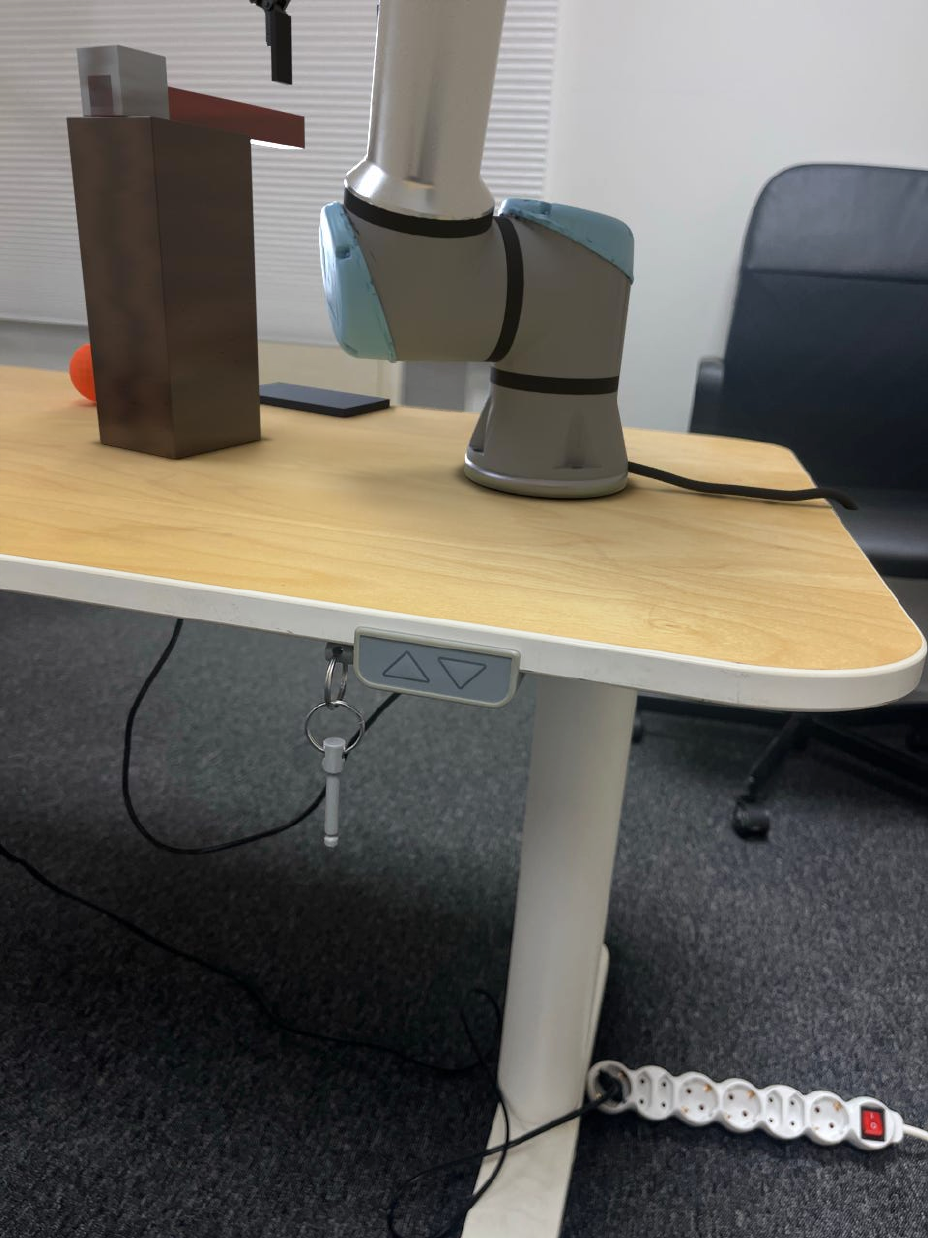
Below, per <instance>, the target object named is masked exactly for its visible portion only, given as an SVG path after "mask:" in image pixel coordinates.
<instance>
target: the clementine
mask: <svg viewBox="0 0 928 1238" xmlns="http://www.w3.org/2000/svg"><path fill="white" fill-rule="evenodd" d="M68 369H69V371H68V373H69V377H70V382H71V383H72V385H73V386H74V388H75V389H76V390H77V392H78V393H79V394H80V395H81V396H82V397H84V398H85V399H87V400H89V401H91V402H94V403H96V396H95V387H94V377H93V368H92V358H91V349H90V342H89V343H85V344H83V345H82V346H81V347H79V348H78V349H77V350H75V352H74V354H73V355H72V356H71V359H70V362H69V367H68Z"/></svg>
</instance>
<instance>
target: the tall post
mask: <svg viewBox="0 0 928 1238" xmlns="http://www.w3.org/2000/svg"><path fill="white" fill-rule="evenodd" d="M65 121H66V128H67V130H66V131H67V139H68V149H69V156H70V168H71V174H72V175H71V177H72V185H73V194H74V196H73V197H74V206H75V214H76V223H77V232H78V243H79V253H80V261H81V262H80V263H81V272H82V280H83V281H82V282H83V291H84V299H85V311H86V321H87V329H88V338H89V343H90V349H91V358H92V368H93V377H94V387H95V396H96V402H95V405H96V415H97V423H98V425H97V426H98V435H99V443H100V444H104V445H106V446H107V445H108V446H113V447H118V448H122V449H126V450H130V451H136V452H141V453H145V454H149V455H150V454H151V455H154V456H159V457H164V458H169V459H174V460H179V459H183V458H186V457H190V456H191V457H192V456H194V455H200V454H204V453H208V452H212V451H216V450H221V449H224V448H229V447H234V446H238V445H242V444H243V445H244V444H246V443H247V444H248V443H251V442H255V441H259V440H262V427H261V425H262V423H261V421H262V420H261V403H260V391H259V385H260V372H259V371H260V366H259V339H258V338H259V337H258V335H259V334H258V332H259V331H258V307H257V304H258V303H257V277H256V276H257V274H256V249H255V247H256V246H255V220H254V219H255V217H254V216H255V215H254V214H255V213H254V189H253V188H254V185H253V156H252V155H253V153H252V143H251V135H250V134H244V133H239V132H234V131H228V130H223V129H218V128H212V127H207V126H202V125H196V124H191V123H185V122H180V121H175V120H169V119H164V118H159V117H153V116H90V117H84V116H66V119H65Z"/></svg>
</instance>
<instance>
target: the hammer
mask: <svg viewBox="0 0 928 1238" xmlns="http://www.w3.org/2000/svg"><path fill="white" fill-rule="evenodd" d="M75 49H76V57H77V68H78V77H79V88H80V89H79V90H80V97H81V100H80V101H81V108H82V109H81V110H82V117H90V116H153V117H159V118H164V119H169V120H175V121H180V122H185V123H191V124H196V125H202V126H207V127H212V128H218V129H223V130H228V131H234V132H239V133H244V134H250V135H251V144H254V145H257V146H258V145H259V146H264V147H269V148H270V147H272V148H277V149H283V150H305V149H306V124H305V123H306V122H305V121H306V118H305V116H304V115H301V114H298V113H297V114H296V113H292V112H288V111H283V110H279V109H274V108H270V107H265V106H260V105H256V104H252V103H247V102H243V101H242V102H241V101H237V100H233V99H229V98H223V97H219V96H214V95H210V94H205V93H201V92H196V91H192V90H187V89H182V88H178V87H174V86H170V85H168V69H167V57H166V56H165V55H161V54H156V53H152V52H148V51H145V50H141V49H137V48H133V47H129V46H125V45H121V44H105V45H103V44H102V45H91V46H90V45H89V46H77V47H76V48H75Z"/></svg>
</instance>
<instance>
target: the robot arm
mask: <svg viewBox="0 0 928 1238" xmlns="http://www.w3.org/2000/svg"><path fill="white" fill-rule="evenodd" d="M248 1H249V3H250V4H252V5H254V6H256V7H258V8H261V9H262V10H263V12H264V23H265V43H266V47H268V48H270V66H271V67H270V72H271V73H270V76H271V82H274V83H278V84H281V85H285V86H292V85H293V46H292V45H293V41H292V39H293V38H292V34H293V33H292V16H291V15H289V13H288V12H287V11H286V10H287V9H288V7H289V4H290V3H291V1H292V0H248ZM507 4H508V0H379V2H378V4H376V37H375V38H376V39H375V50H374V51H375V52H374V63H373V76H372V77H373V78H372V89H371V101H370V114H369V125H368V126H369V127H368V129H369V130H368V140H367V154H366V155H365V156H364V158H363V159H362V160H360V161H359V163H357V164H356V165H355V166H353V168H351V170H349V171H348V172H347V173H346V175H345V178H344V190H343V191H344V192H343V201H342V203H340V202H339V201H333V202H332V203H328V204H326V205H324V206H323V207H322V208H321V211H320V222H319V225H318V239H319V256H320V267H321V275H322V283H323V289H324V296H325V302H326V307H327V312H328V316H329V321H330V324H331V328H332V331H333V334H334V337H335V339H336V342H337V343H338V345H339V347H340V348H341V349H342V350H343V352H344V353H346V354H347V355H348V356H351V357H352V358H355V359H361V360H362V359H363V360H375V361H377V360H378V361H388V363H391V364H396V363H397V362H450V363H451V362H452V363H453V362H455V363H456V362H458V363H461V362H464V363H467V362H468V363H473V362H475V363H490V370H489V386H488V392H487V394H486V397H485V400H484V403H483V405H482V408H481V410H480V412H479V416H478V419H477V421H476V424H475V426H474V429H473V431H472V434H471V437H470V440H469V443H468V445H467V448H466V452H465V455H464V467H463V468H464V469H463V471H464V475H465V476H466V477H467V478H468V479H470V480H471V481H473V482H475V483H476V484H479V485H481V486H483V487H486V488H490V489H493V490H497V491H500V492H506V493H511V494H515V495H522V496H530V497H539V498H553V499H585V498H597V497H603V496H608V495H612V494H615V493H619V492H621V491H623V490H624V489H625V488H626V487H627V483H628V478H629V477H628V476H629V473H631V474H634V475H637V476H642V477H646V478H649V479H652V480H657V481H659V482H663V483H666V484H668V485H672V486H674V487H678V488H680V489H685V490H688V491H693V492H697V493H705V494H712V495H722V496H723V495H724V496H735V497H743V498H750V499H751V498H753V499H759V500H760V499H761V500H770V501H777V502H778V501H780V502H804V501H811V500H819V499H829V500H833V501H835V502H837V503H838V504H839V505H841V506H842V507H843V508H844V509H845V510H849V511H859V510H860V509H859V507H858V505H857V503H856V502H855V500H854V499H852V497H851V496H849V495H848V494H847V493H845V492H844V491H842V490H841V489H837V488H832V487H812V488H805V489H794V490H790V489H789V490H787V489H775V488H767V487H766V488H765V487H757V486H748V485H740V484H729V483H717V482H710V481H709V482H707V481H701V480H697V479H692V478H687V477H684V476H682V475H678V474H675V473H672V472H669V471H667V470H663V469H659V468H656V467H653V466H648V465H645V464H641V463H638V462H634V461H631V460H629V459H628V452H627V447H626V442H625V436H624V432H623V431H624V430H623V425H622V421H621V416H620V415H621V414H620V410H619V405H618V404H619V403H618V395H619V394H618V393H619V385H620V376H621V368H622V363H623V362H622V361H623V353H624V346H625V338H626V337H625V336H626V329H627V321H628V314H629V313H628V312H629V305H630V297H631V291H632V290H631V289H632V286H633V284H634V281H635V276H634V264H635V237H634V234H633V231H632V228H630V226H628V224H626V223H625V222H624V221H622V220H621V219H618V218H616V217H614V216H611V215H609V214H606V213H602V212H598V211H595V210H594V211H593V210H590V209H587V208H581V207H578V206H572V205H568V204H563V203H558V202H554V203H553V202H552V203H551V202H548V201H544V200H538V199H530V198H521V197H520V198H519V197H510V198H506V199H505V200H503V201H502V202H501V206H500V208H499V210H498V211H497V215H494V214H495V213H494V212H495V209H496V208H495V207H496V200H495V196H494V194H492V192H491V190H490V189H489V187H488V186H487V184H486V182H485V181H484V180H483V178H482V175H481V172H482V171H481V170H482V163H483V158H484V151H485V146H486V145H485V144H486V138H487V133H488V132H487V131H488V125H489V119H490V113H491V107H492V99H493V94H494V87H495V80H496V76H497V75H496V74H497V68H498V63H499V56H500V48H501V42H502V36H503V31H504V23H505V17H506V11H507Z"/></svg>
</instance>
